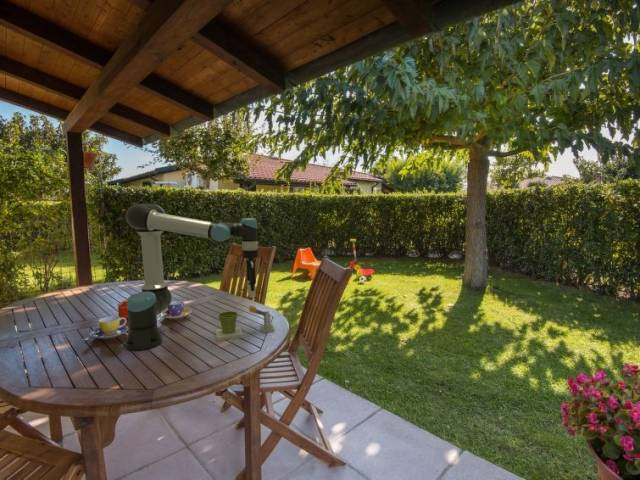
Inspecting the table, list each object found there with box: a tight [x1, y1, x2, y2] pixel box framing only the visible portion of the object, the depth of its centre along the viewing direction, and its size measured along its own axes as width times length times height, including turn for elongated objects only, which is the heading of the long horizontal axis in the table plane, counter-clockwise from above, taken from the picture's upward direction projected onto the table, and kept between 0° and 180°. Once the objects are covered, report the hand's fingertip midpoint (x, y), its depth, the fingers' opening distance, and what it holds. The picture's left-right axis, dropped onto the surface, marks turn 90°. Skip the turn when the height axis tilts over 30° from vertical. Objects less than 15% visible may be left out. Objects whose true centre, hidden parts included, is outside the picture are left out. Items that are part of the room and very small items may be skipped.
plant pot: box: [217, 310, 239, 333], centre depth 170 cm, size 9×9×9 cm
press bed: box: [215, 326, 244, 342], centre depth 169 cm, size 12×11×2 cm
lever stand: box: [259, 310, 276, 334], centre depth 175 cm, size 6×7×9 cm
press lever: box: [248, 305, 270, 317], centre depth 173 cm, size 10×4×2 cm, turn 109°
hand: (251, 295), depth 171 cm, fingers open, 7 cm apart
